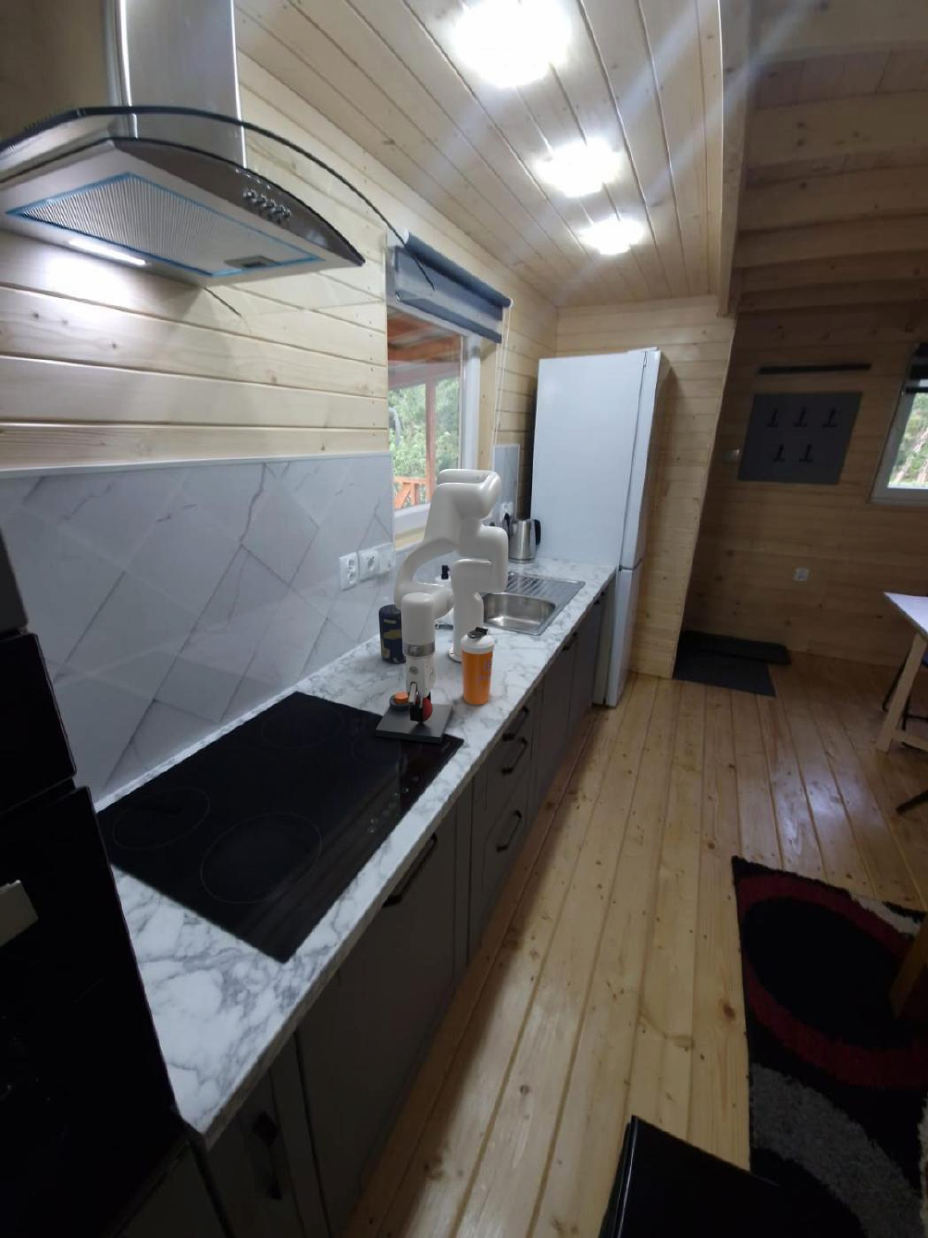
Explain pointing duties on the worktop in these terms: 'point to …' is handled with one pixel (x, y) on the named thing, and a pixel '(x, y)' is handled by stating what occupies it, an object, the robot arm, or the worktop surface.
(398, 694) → the button
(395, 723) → the scale
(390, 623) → the canister
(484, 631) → the shaker bottle
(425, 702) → the onion
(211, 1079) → the worktop surface
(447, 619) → the rocket engine
